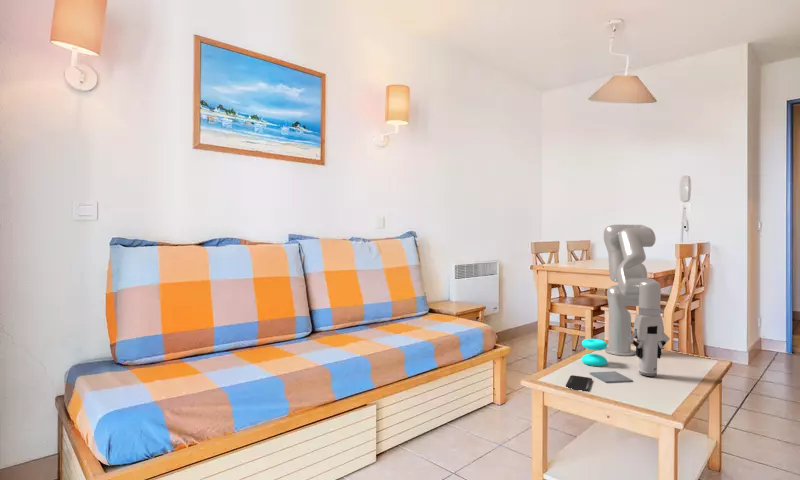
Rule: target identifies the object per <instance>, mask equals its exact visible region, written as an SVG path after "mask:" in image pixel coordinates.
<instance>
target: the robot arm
mask: <svg viewBox="0 0 800 480" xmlns="http://www.w3.org/2000/svg"><path fill="white" fill-rule="evenodd" d="M603 242H604V245H605V247H606V251H607V254H608V256H607V257H608V272H609V279H610V280H611V281H612V282H614V283H617V284H616V285H611V286H609V287H608V288H607V290H606V299H607V305H608V341H607V348H606V349H604V351H605V353H608V354H611V355H613V356H614V355H615V356H621V357H622V356H624V357H625V356H626V357H627V356H630V357H631V356H634V355H636V357H637V358H638V359H639V358H642V348H641V346H642V344H643V341H645V340H646V335H647V332H648V331H647V327H655V326H657V334H658V335H657V336H658V354H657V359H660V360H661V356H662V349H663V347H664V346H665V345H666V344H667V343H668V342H669V341H670V337H669V336H668V335H667V334H666V333H665V329H664V321H663V317H662V315H661V314H662V313H664V312H665V311H664V309H663V308H661V297H662V295H661V294H662V293H661V292H662V291H661V289H662V286H661V283H660V282H659V281H657V280H655V279H653V278H649V277H648V271H647V268H646V266H645V265H644V262H645V261H646V259H647V257H646V253H645V249H644V248H650V247H651V248H652V247H653V246H654V245H655V243H656V235H655V231H654V230H653V229H652V228H650V227H648V226H646V225H643V224H611V225H608V226H606V227H605V228H604V229H603ZM626 307H638V314H636V315H635V317H634V318H635V319H634V323H633V332H632V315H631V313H630V311H629V310H628V309H627V308H626ZM635 339H636V340H635ZM632 345H634V347H635V350H634V349H632Z"/></svg>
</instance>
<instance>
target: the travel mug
mask: <svg viewBox="0 0 800 480" xmlns="http://www.w3.org/2000/svg"><path fill="white" fill-rule="evenodd" d="M647 331H648V332H647V335H646V340H645V341H643V344H642V346H641V348H642V358H639V357H638V360H639V362H638V368H639V369H638V373H639V374H641V375H642V376H645V377H656V376H657V375H658V358H657V354H658V336H657V335H658V334H657V326H655V327H647Z"/></svg>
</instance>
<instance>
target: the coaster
mask: <svg viewBox="0 0 800 480" xmlns="http://www.w3.org/2000/svg"><path fill="white" fill-rule="evenodd" d="M589 375H590V376H593V377H595V378H597V379H598V380H599V381H602V382H603V383H606V384H608V383H609V384H610V383H611V384H613V383H615V384H616V383H631V382H632V383H633V382H634V380H633V379H632V378H630V377H627V376H626V375H624V374H621V373H619V372H618V371H616V370H615V371H614V370H613V371H597V372H596V371H595V372H594V371H593V372H592V371H591V372H589Z"/></svg>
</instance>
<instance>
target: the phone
mask: <svg viewBox="0 0 800 480" xmlns="http://www.w3.org/2000/svg"><path fill="white" fill-rule="evenodd" d="M592 382H593V378H592V377H586V376H581V375H570V376H569V378H568V380H567V381H566V384H565V386H566V387H568V388H572V389H575V390H576V391H578V390H582V391H581V392H584V391H588V392H589V391H590V388H591V385H592Z"/></svg>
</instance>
